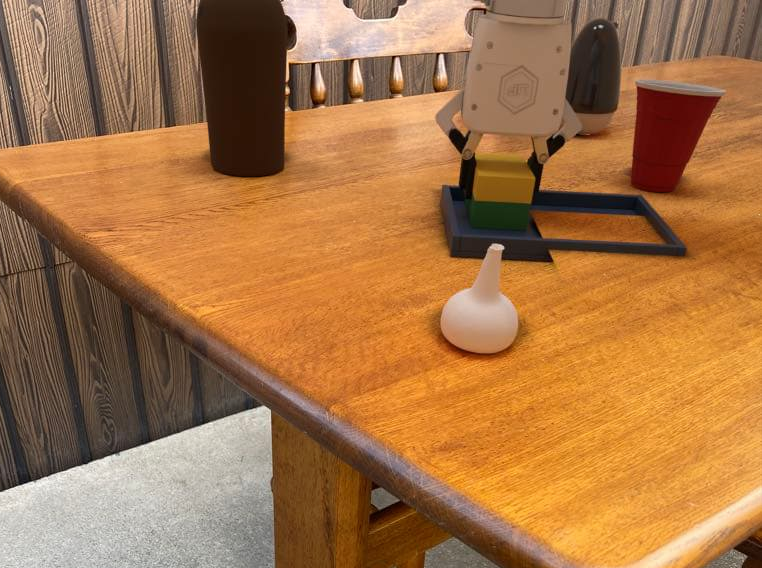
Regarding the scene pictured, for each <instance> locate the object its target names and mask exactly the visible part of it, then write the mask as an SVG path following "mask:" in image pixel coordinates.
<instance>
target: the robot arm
mask: <svg viewBox="0 0 762 568" xmlns="http://www.w3.org/2000/svg"><path fill="white" fill-rule="evenodd" d="M472 1H473V2H480V3H481V4H483V5H484V7H485V9H486V13H485V14H481V15H479V17H478V20H477V22H476V26H475V29H474V33H473V38H472V44H471V47H470V51H469V56H468V60H467V65H466V72H465V77H464V84H463V87H462V88H461V89H460V90H458V92H457V93H456V94H455V95H454V96H452V98H451V99H450V100H448V101H447V102H446V104H445V105H444V106H442V107H441V108H440V110H438V111H437V112H436V113H435V116H434V119H435V122H436V124H437V125H438V127H439V128H440V129H441V131H442V132H443V133H444V135H446V137H447V138H448V139H449V141H450V143H451V144H452V145H453V147H455V149H456V150H457V152H458V153H459V154H460V155H461V160H460V169H459V176H458V186H459V189H463V193H464V197H465V199H470V198H472V193H473V192H472V191H473V183H474V176H475V168H476V164H477V161H476V158H475V153H476V150H477V148H478V146H479V145H480V142H481V140H482V138H483V136H484V135H489V136H490V135H494V136H510V137H526V138H527V137H529V138H530V142H531V145H532V152H531V154H530V155H529V158H527V159H526V162H527V164H528V166H529V168H530V169H531V171H532V173H533V175H534V177H535V184H534V190H533V194H534V193H538V192H539V190H540V188H541V181H542V176H543V172H544V166H545V164H547V163H548V161H549V160H550V158H551V157H552V156H554V155H555V154H556V153H557V152H558V151H559V150H561V149H562V148H563V147H564V146H565V145H566V144H567V142H569V141H570V140H572V139H573V138H574V137H575V136H577V135H576V134H577V133H579V132H580V131H581V130H582V126H583V125H582V123H581V122H580V120H579V118H578V117H577V115H576V114H575V112H574V111H573V109H572V107H571V106H570V104H569V103H568V101H567V100H566V98H565V95H566V88H567V80H568V72H569V63H570V52H571V46H572V30H573V29H572V22H570V21H568V20H566V19H565V13H566V8H567V2H568V0H472ZM459 112H460V115H461V119H462V123H463V125H464V127H465V128H466V129H467V131H466V133H465V135H464V134H463V133H462V131H461V130H460V129H459V128H458V127H457V126H456V124H455V123H454V122H453V118H454V117H455V116H456V115H457V114H458V113H459ZM562 118H563V120H564V126H563V127H562V128H561V129H560V128H559V127H560V124H561V120H562ZM547 137H548V138H547ZM532 199H533V195H532ZM531 203H532V201H531Z"/></svg>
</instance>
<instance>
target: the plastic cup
mask: <svg viewBox="0 0 762 568" xmlns="http://www.w3.org/2000/svg"><path fill="white" fill-rule="evenodd" d="M634 81H635V83H634V84H635V86H636V108H635V109H636V114H635V122H634V123H635V124H634V132H633V133H634V136H633V144H632V153H631V157H632V162H631V171H630V185H631V186H632V187H634V188H636V189H638V190H643V191H645V192H654V193H670V192H673V191H675V190H676V187H677V186H678V185H679V183H680V181H681V178H682V177H683V174H684V172H685V169H686V167H687V165H688V164H689V163H690V160H691V158H692V156H693V154H694V152H695V149H696V147H697V145H698V143H699V141H700V138H701V136H702V134H703V132H704V130H705V128H706V125H707V123H708V121H709V119H711V116H712V114H713V112H714V110H715V109H716V107H717V106H718V103H720V100H721V99H722V97H724V96H726V93H727V90H726V89H721V88H718V87H713V86H708V85H702V84H695V83H690V82H689V83H688V82H681V81H671V80H663V79H662V80H661V79H660V80H659V79H647V78H646V79H645V78H644V79H643V78H641V79H635V80H634Z"/></svg>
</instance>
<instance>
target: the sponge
mask: <svg viewBox="0 0 762 568" xmlns="http://www.w3.org/2000/svg"><path fill="white" fill-rule="evenodd" d="M475 158H476V161H477V164H476V168H475V176H474V183H473V191H472V192H473V193H472V198H470V199H465V201H464V203H465V206H466V210H467V214H468V217H469V221H470V224H471V228H484V229H503V230H522V231H526V229H527V224H528V218H529V212H531V210H530V207H531V201H532V195H533V190H534V184H535V177H534V175H533V173H532V171H531V169H530V168H529V166H528V164H527V159H526V158H525V156H524V155H521V154H520V155H519V154H518V155H517V154H499V153H483V152H482V153H480V152H475Z"/></svg>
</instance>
